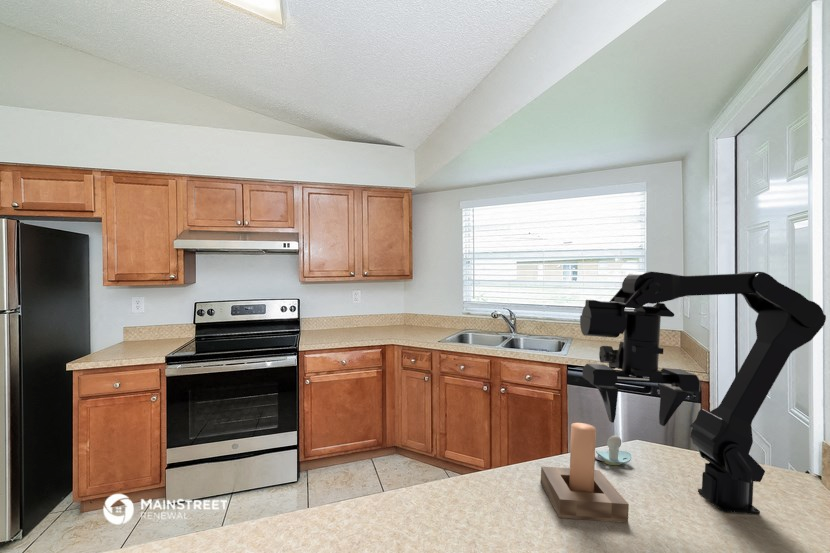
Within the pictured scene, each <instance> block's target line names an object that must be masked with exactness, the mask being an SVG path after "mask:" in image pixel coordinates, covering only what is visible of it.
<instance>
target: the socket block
mask: <svg viewBox="0 0 830 553" xmlns="http://www.w3.org/2000/svg"><path fill="white" fill-rule="evenodd" d="M569 478H570V467H557V466H556V467H553V466H540V484H541V486H542V487H543V490H544V491H545V493H546V495H547V497H548V498H549V501H550V503H551V505H552V507H553V508H554V510H555V512H556V514H557V516H558V518H561V519H574V520H575V519H576V520H586V521H587V520H589V521H603V522H616V523H629V507H630V504H629V502H628V501H627V500H626V499H625V498H624V497H623V496H622V494H620V492H619V491H618V490H617V488H615V486H614V485H613V484H612V483H611V482H610V481H609V479H608V478H607V477H606V475H604V474H603V472H602V471H601V470H600V469H594V493H587V492H573V491H570V489H569Z"/></svg>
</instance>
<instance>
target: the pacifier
mask: <svg viewBox="0 0 830 553" xmlns="http://www.w3.org/2000/svg"><path fill="white" fill-rule="evenodd" d="M606 446H607V447H608V451H606V450H605V451H604V450H595V460H598V461H601V462H603V463H604V464H607V465H609V466H620V465H621V464H627V463H630V462H631V461H632V458H633V457H632V456H633V455H632V453H631V452H629V451H626V450H620V447H621V446H622V439H621V437H620V436H619V435H616V434H615V435H611V436H610V437H609V438H608V439H607V442H606Z"/></svg>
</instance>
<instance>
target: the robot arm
mask: <svg viewBox="0 0 830 553" xmlns="http://www.w3.org/2000/svg"><path fill="white" fill-rule="evenodd" d="M713 295H715V296H716V295H717V296H719V295H741V296H743V298H744V300H745V302H746V303H747V305H748V307H749V308H750V309H752V310H753V311H754V312H755V313H756V314H757V316H756V320H755V323H754V324H755V333H756V340H755V342H754V344H753V345H752V347H751V349H750V350H749V352H748V354H747V356H746V358H744V361H743V363H742V365H741V367H740V368H739V370H738V372H737V373H736V375H735V377H734V379H733V380H732V383H731V384H730V386H729V387H728V390H727V391H726V393H725V395H724V397H723V399H722V400H721V402H720V404H719V405H718V406H717V407H716V408H714V409H712V410H711V411H707V410H706V409H704V408H700V409H699V410H698V413H697V416H696V418H695V420H694V421H693V422H692V423H691V424H690V425H689V427H690V428H692V429H691V431H690V439H691V441H692V444H693V445H694V447H696V449H698V452H699V455H700V458H702V459H704V460H705V461H707V463H706V462H705V463H704V472H702V475H701V476H702V480H701V488H697V493H698V494H700V495H701V496H702V497H703V498H705V499H706V500H707V501H708V502H709V503H711V504H712V505H713V506H715V507H716V508H717V509H718V510H719V511H721V512H724V513H736V514H737V513H738V514H751V515H752V514H753V515H760V514H761V511H760V509H758V508H757V507H756V506H754V505H753V500H754V482H755V483H757V482H758V483H761V481H762V479H764V478H763V477H764V475H765V473H766V470H765V469H764V468H763V467H762V466H761V465H760V464H759V463H758V461H757V460H755V458H753V457H752V455H751V454H750V452H751V449H752V446H753V443H754V438H753V431H752V430H753V429H752V425H753V424H752V423H753V421H754V420H755V417H756V416H757V414H758V412H759V410H760V409H761V407H762V405H763V403H764V402H765V400H766V398H767V396H768V394H769V392H770V391H771V389H772V388H773V386H774V383H775V382H776V380H777V378H778V377H779V375H780V373H781V372H782V370H783V368H784V366H785V365H786V363H787V361H788V359H789V357H790V356H791V354H792V353H793V352H794V351H796V350H797V349H799V348H801V347H803V346H804V345H806V344H808V343H809V342H811V341H812V340H813V339H814V337H815V336H816V335H817V334H818V333H819V332H820V331H821V330H822V328H823V327H824V325H825V322H826V321H827V320H826V319H827V315H826V314H825V313H824V309H823V308H822V307H821V306H820V304H818V303H817V302H815V301H813V300H810V299H808V298H806V297H805V296H804V295H803V294H801V293H800V292H798V291H796V290H794V289H792V288H790V287H788V286H786V285H784V284H782V283H781V282H779V281H777V279H776V278H774V277H773V276H772V275H770V274H768V273H766V272H764V271H742V272H740V273H739V272H738V273H725V274H724V273H719V274H698V275H697V274H696V275H678V274H673V273H666V272H659V271H657V272H656V271H636V272H631V273H629V274H627V275H626V277H624V278H623V281H622V284H621V287H620V288H619V290H618V291H617V292H616V293H615V295H614V296H613V297H612V298H611V299H610V300H609V301H601V300H600V301H599V300H596V299H595V300H594V299H586V300H585V305H584V306H583V307H582V308H583V309H582V312H581V315H580V316H579V317H580V318H579V326H580V327H579V328H580V331H581V334H582V335H583V336H586V337H587V336H588V337H599V338H600V337H601V338H603V337H604V338H615V339H617V338H618V337H619V336H620V335H623V341H621V340H620V342H619V344H618V349H614V348H613V346H611V345H601V346H599V353H598V356H599V357H598V358H599V362H600V363H603V364H598V363H586V364H585V365H584V366H583V368H582V374H581V376H582V378H583V379H584V380H585V381H588V382H589V384H591V385H593V386H594V387H596V388H597V390H598V391H599V394H600V396H601V399H602V401H603V402H602V403H603V405H604V408H605V412H606V415H607V418H608V421H609V422H610V423H612V424H613V423H614V422H615V419H616V414H617V413H616V412H617V404H618V393H619V388H617V387H616V386H615V385H616V384H617V383H618V382H629V383H631V382H633V383H646V384H647V383H648V384H657V386H658V389H659V392H660V398H659V401H660V402H659V413H658V419H659V420H658V421H659V422H658V423H659V425H660V426H661V427H665V426H666V425H667V423H669V421H670V419H671V418H672V417H673V415H674V413H675V412H676V411H677V410H678V408H679V407H680V405H682V403H684V401H685V400H686V399H687V398H688V397H692V396H693V392H696V393H697V392H698V393H699V392H701V383H702V382H701V380H700V379H699V376H698V375H697V374H694V373H692V372H689V371H686V370H684V369H680V368H664V367H662V368H661V370H660V369H659V356H660V355H664V347H661V346H660V339H661V338H660V335H661V318H662V317H665V318H673V317H674V316H675V313H674V312H673V311H671V309H670V308H668V307H667V305H666V303H663V302H668V301H674V300H676V299H679V298H682V297H691V296H713ZM647 304H653V306H647ZM654 304H655V305H654ZM626 309H634V310H626ZM604 363H606V364H607V363H608V365H605V364H604ZM616 369H617V370H616Z"/></svg>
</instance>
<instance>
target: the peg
mask: <svg viewBox="0 0 830 553" xmlns="http://www.w3.org/2000/svg"><path fill="white" fill-rule="evenodd" d="M570 430H571V431H570V451H569V452H570V454H569V455H570V457H569V468H570V478H569V489H570V491H573V492H587V493H594V470H596V469H595V464H596V458H595V454H596V438H597V437H596V436H597V435H596V434H597V433H596V432H597V428H596V427H595V426H594V425H591V424H589V423H584V422H583V423H582V422H573V423H571V425H570Z"/></svg>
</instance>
